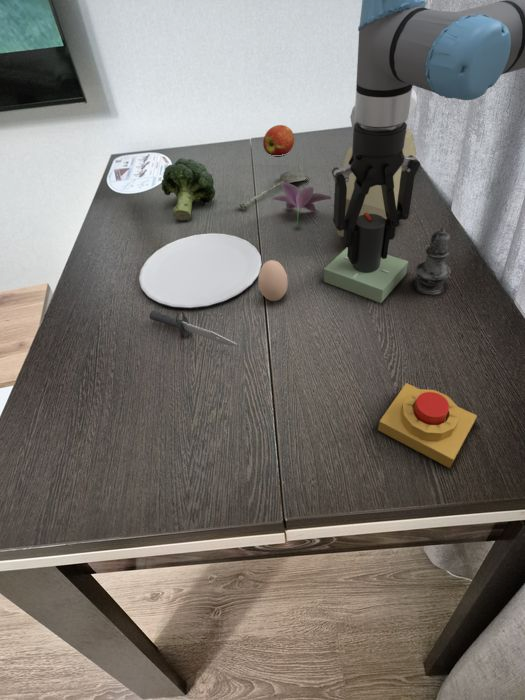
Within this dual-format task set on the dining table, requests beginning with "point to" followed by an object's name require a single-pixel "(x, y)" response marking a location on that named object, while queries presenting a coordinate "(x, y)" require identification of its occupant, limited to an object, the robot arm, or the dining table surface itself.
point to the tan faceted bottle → (374, 197)
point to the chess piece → (434, 265)
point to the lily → (299, 198)
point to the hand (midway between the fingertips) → (366, 257)
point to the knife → (188, 327)
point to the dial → (369, 242)
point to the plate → (200, 270)
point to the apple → (278, 140)
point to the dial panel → (366, 276)
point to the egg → (273, 280)
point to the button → (431, 408)
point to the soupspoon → (285, 177)
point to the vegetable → (187, 185)
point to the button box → (427, 427)
